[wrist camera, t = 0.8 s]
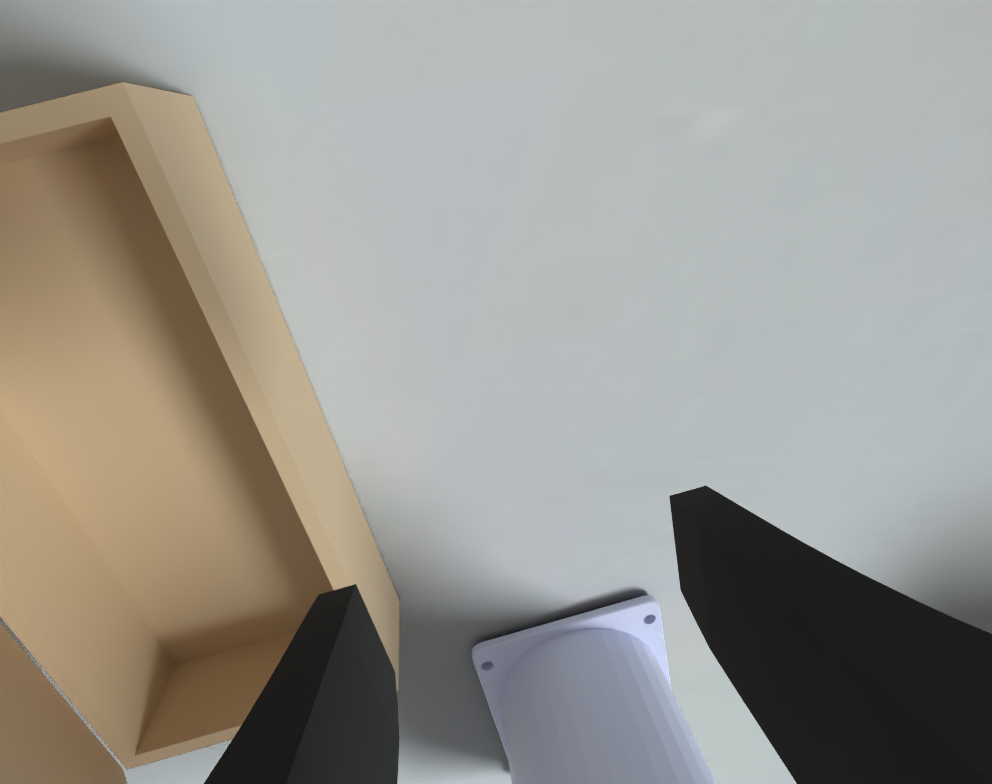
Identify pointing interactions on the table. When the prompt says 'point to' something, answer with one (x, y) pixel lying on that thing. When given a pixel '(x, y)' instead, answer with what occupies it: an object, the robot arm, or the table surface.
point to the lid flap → (44, 729)
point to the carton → (156, 431)
